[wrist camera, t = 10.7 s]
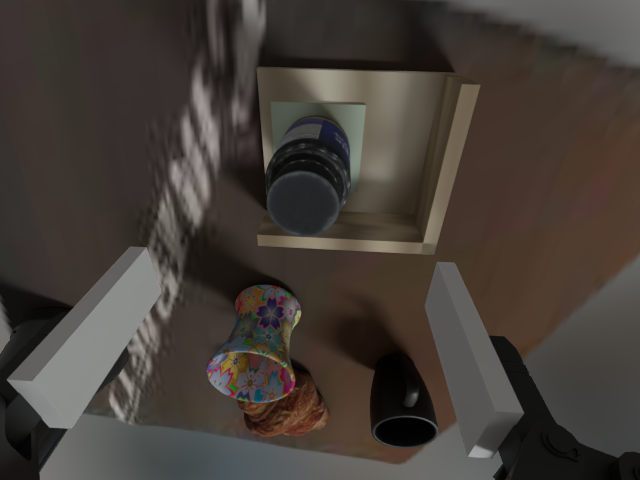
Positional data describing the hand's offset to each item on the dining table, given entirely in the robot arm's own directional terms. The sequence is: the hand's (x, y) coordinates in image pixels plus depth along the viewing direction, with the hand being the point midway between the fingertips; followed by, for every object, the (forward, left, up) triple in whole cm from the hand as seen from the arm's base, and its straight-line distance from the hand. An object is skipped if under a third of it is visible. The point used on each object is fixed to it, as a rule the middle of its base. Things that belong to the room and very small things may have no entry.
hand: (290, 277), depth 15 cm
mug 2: (+12, -30, -19) cm, 38 cm away
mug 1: (-6, -22, -19) cm, 30 cm away
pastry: (-5, -39, -19) cm, 44 cm away
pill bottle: (0, 0, -18) cm, 18 cm away
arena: (+3, 0, -18) cm, 19 cm away
